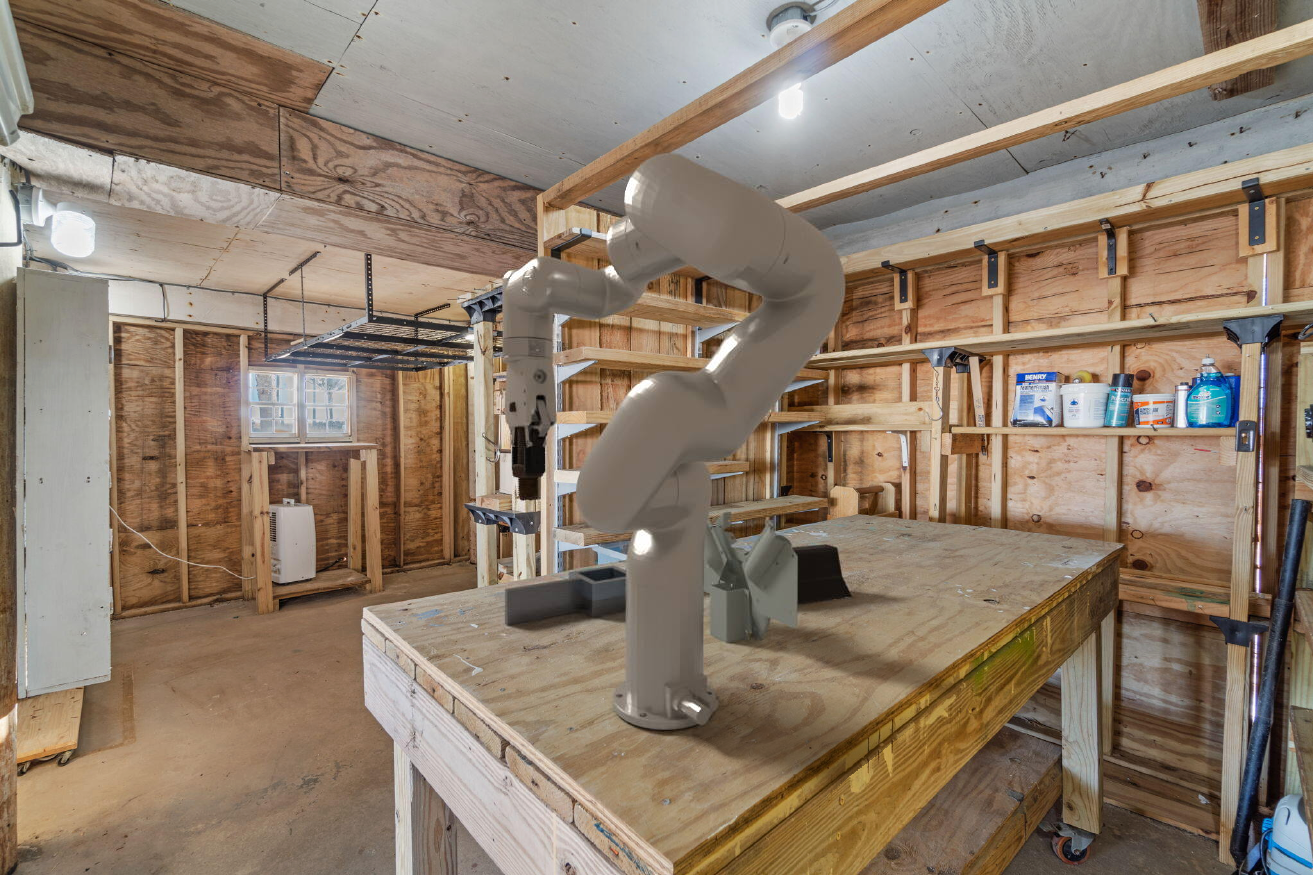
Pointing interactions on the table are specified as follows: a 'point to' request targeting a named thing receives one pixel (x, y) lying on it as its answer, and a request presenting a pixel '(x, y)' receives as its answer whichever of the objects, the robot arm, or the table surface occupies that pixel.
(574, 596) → the grey square socket holder
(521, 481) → the bolt
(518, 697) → the table surface
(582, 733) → the table surface
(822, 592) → the barrier
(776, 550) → the bracket
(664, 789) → the table surface
